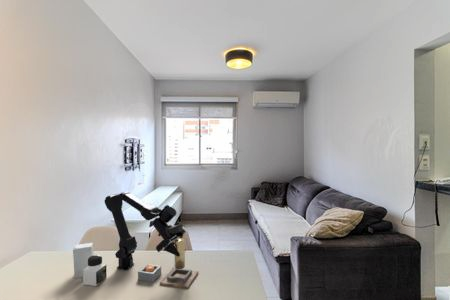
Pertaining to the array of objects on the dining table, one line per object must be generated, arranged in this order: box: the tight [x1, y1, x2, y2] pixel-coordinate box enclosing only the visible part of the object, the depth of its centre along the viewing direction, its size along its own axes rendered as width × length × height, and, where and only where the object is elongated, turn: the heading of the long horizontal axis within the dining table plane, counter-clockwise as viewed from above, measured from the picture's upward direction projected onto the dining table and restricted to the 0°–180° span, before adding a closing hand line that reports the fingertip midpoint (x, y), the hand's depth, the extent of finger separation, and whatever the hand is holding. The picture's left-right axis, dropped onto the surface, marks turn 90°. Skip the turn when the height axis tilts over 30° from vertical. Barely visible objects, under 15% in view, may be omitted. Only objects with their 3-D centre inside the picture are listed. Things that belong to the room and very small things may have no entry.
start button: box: [146, 264, 154, 272], centre depth 122 cm, size 4×4×3 cm
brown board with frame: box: [159, 267, 199, 290], centre depth 121 cm, size 14×14×2 cm
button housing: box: [137, 263, 162, 283], centre depth 122 cm, size 8×8×4 cm
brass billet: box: [173, 238, 186, 269], centre depth 120 cm, size 5×5×13 cm
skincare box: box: [72, 242, 94, 279], centre depth 124 cm, size 8×6×15 cm
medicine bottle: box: [82, 254, 107, 287], centre depth 118 cm, size 7×7×12 cm
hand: (182, 253), depth 120 cm, fingers closed on brass billet, 5 cm apart
